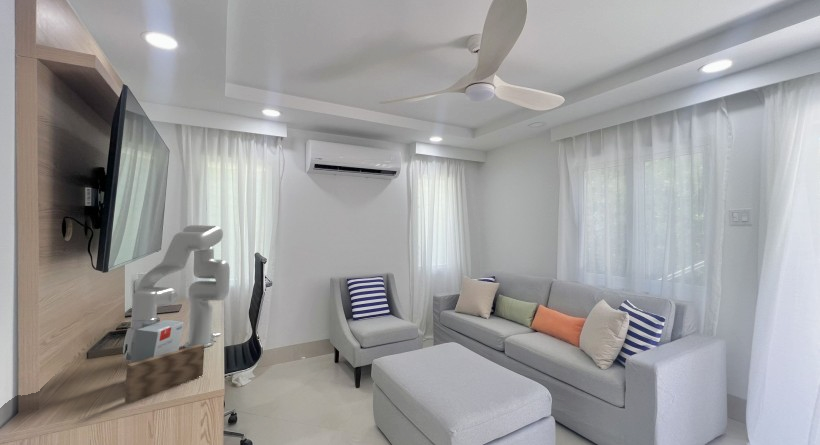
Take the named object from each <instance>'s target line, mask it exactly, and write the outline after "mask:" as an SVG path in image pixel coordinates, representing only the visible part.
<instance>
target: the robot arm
mask: <svg viewBox="0 0 820 445" xmlns="http://www.w3.org/2000/svg"><path fill="white" fill-rule="evenodd" d="M182 230H183V231H182V232H177V233H176V234H174V235H173V237H172V239H171V241H170V243H169V246H168V248H167V250H166V252H165V254H164V257H163V259H162V261H161V262H160V263H159V264H157V265H156V266H155V267H153V268H151V269H150V270H149V271H147V273H145V275H144V276H142V278H141V280H140V281H139V284H138V286H137V287H136V288H137V289H136V290H135V292H134V293H133V294H132V304H131V306H132V307H131V318H130V320H131V322H130V327H129V328H127V330H126V334H125V337H124V342H123V348H122V353H123V355H124V357H123V360H125V361H131V357H132V352H133V348H134V343H135V337H136V332H137V330H138V329H141V328H144V327H147V326H150V325H152V324H155V323H158V322H160V320H161V317H159V316H158V317H157V312H158V308H160V307H161V308H163V307H168V306H171V305H172V304H174V303H175V302H176V301H177V300H178V291H177V290H176V289H174V288H172V287H165V286H164V287H163V286H155V285H156V284H157V283H158V282H159V281H160V280H161V279H162V278H164V277H167V276H169V275H171V274H174V273H177V272H179V271H182V270H183V269H184V268H185V267H186V265H187V262H188V260H189V257H190V255H191V253H192V252H193V269H192V270H193V275H194V277H196V278H198V279H207V280H197V281H195V282H193V283H191V284H190V286H189V288H188V296H189V298H188V299H189V308H190V309H189V321H188V322H189V325H188V338H187V339H188V341H187V342H185V343H184V344H183V347H184V348H188V347H191V346H195V345H198V344H203V345H204V348H208V347H210V346H212V345H214V344H215V338H219V337H221V333H220V332H217V333H213V332H212V328H213V327H212V325H213V305H212V303H211V302H210V301H213V302H214V301H224V300H226V299H227V297H228V295H229V290H230V276H231V275H230V274H231V273H230V272H231V271H230V265H229V263H228V261H226V260H224V259H216V258H215V249H214V246H215V245H218V243H220V242H221V241H222V239H223V236H224V231H223V229H222V228H221V227H220V226H216V225H202V224H201V225H199V224H197V225H196V224H194V225H193V224H192V225H187V226H185V227H184V228H183V229H182ZM209 279H211V280H209Z"/></svg>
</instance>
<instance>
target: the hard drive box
mask: <svg viewBox="0 0 820 445" xmlns="http://www.w3.org/2000/svg"><path fill="white" fill-rule="evenodd" d="M184 323H185V322H183V321H179V320H170V319H164V320H161V321H157V323H155V324H152V325H150V326H147V327H144V328H141V329H138V330H137V332H136V337H135V343H134V348H133V352H132V357H131V360H130V362H129V364H131V363H134V362H138V361H141V360H145V359H149V358H152V357H156V356H159V355H163V354H166V353H170V352H173V351H177V350H180V343H181V341H182V340H181V339H182V333H183V329H184Z"/></svg>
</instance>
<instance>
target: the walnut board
mask: <svg viewBox="0 0 820 445" xmlns="http://www.w3.org/2000/svg"><path fill="white" fill-rule="evenodd" d="M204 360H205V347H204V345H203V344H198V345H195V346H191V347H188V348H185V347H184V348H181V349H179V350H177V351H173V352H170V353H166V354H163V355H159V356H156V357H152V358H149V359H145V360H141V361H138V362H134V363H131V364H130V363H128V364H126V374H125V375H126V377H125V392H124V402H125V403H127V404H132V403H134V402H137V401H139V400H142V399H145V398H147V396H148V397H150V396H153V395H155V393H156V394H158V393H161V392H163V390H164V391H165V390H166V391H167V390H169V389H172V388H174V386H175V387H177V386H179V384H180V385H182V384H181V383H183V384H185V383H188V382H190V381H189V380H191V381H193V380H195V379H194V378H196V379H198V378H197V377H199V376H201V377H203V376H204V362H205V361H204ZM202 375H203V376H202ZM199 378H200V377H199ZM192 379H193V380H192ZM187 381H188V382H187ZM184 382H185V383H184ZM176 385H177V386H176ZM171 387H172V388H171ZM160 391H161V392H160ZM152 394H153V395H152Z"/></svg>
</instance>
